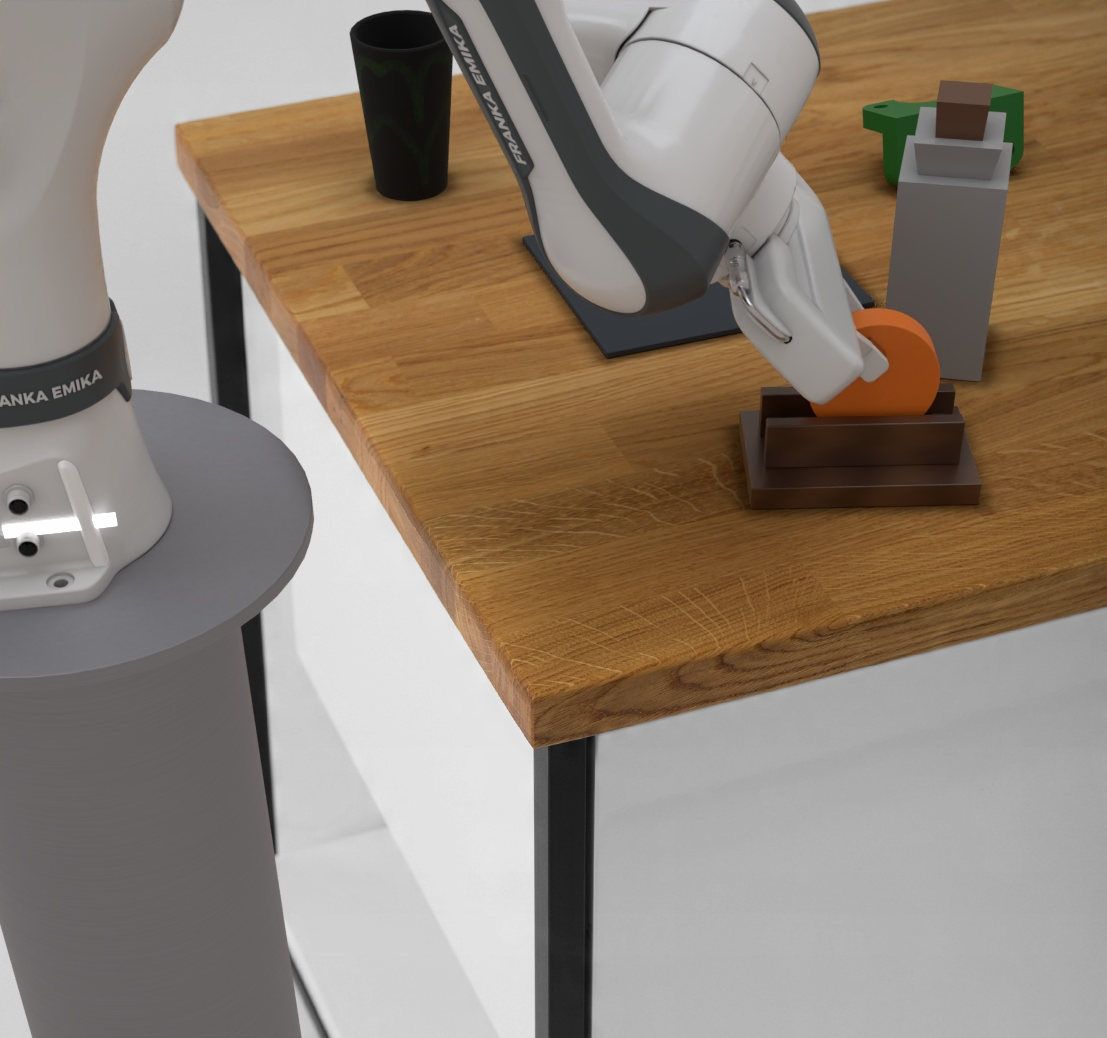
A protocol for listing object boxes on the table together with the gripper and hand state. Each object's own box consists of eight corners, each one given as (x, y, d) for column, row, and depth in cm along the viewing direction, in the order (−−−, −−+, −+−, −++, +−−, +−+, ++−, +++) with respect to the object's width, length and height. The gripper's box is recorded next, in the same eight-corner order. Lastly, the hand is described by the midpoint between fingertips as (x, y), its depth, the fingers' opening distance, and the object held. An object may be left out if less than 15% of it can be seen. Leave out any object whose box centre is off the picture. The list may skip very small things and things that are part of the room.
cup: (477, 172, 161) (471, 18, 153) (433, 213, 156) (425, 57, 148) (390, 155, 163) (379, 3, 155) (344, 196, 158) (330, 41, 150)
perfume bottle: (985, 331, 142) (1022, 74, 129) (980, 381, 137) (1017, 119, 125) (887, 322, 143) (914, 66, 131) (878, 372, 138) (905, 111, 126)
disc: (796, 434, 127) (823, 318, 122) (792, 416, 129) (819, 301, 123) (922, 446, 128) (955, 331, 122) (918, 428, 129) (949, 314, 124)
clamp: (960, 203, 165) (997, 86, 162) (1002, 216, 160) (1041, 96, 157) (837, 169, 160) (873, 48, 157) (876, 181, 155) (915, 57, 152)
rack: (750, 509, 126) (754, 446, 123) (738, 430, 133) (741, 368, 130) (978, 504, 126) (988, 441, 123) (955, 425, 133) (963, 364, 130)
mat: (607, 358, 140) (607, 353, 140) (522, 241, 152) (522, 236, 152) (874, 306, 144) (874, 301, 144) (770, 197, 157) (771, 192, 157)
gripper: (780, 257, 109) (943, 414, 115) (746, 93, 124) (892, 240, 130) (692, 334, 112) (856, 483, 118) (670, 165, 127) (817, 306, 133)
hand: (875, 354), depth 125 cm, fingers closed on disc, 2 cm apart
